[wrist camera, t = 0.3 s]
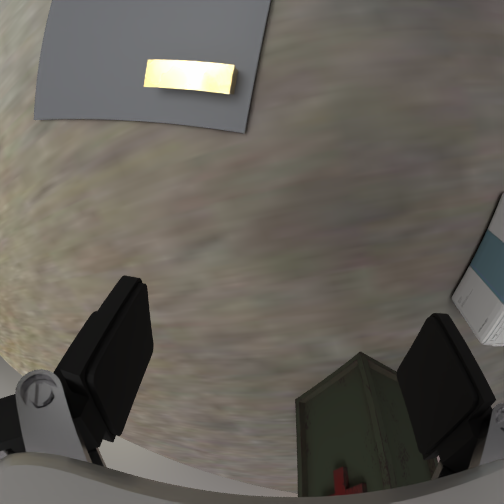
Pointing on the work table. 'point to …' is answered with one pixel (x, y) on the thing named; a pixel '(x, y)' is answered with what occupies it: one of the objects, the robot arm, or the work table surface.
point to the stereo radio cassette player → (485, 285)
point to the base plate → (140, 51)
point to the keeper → (191, 75)
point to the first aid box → (357, 434)
